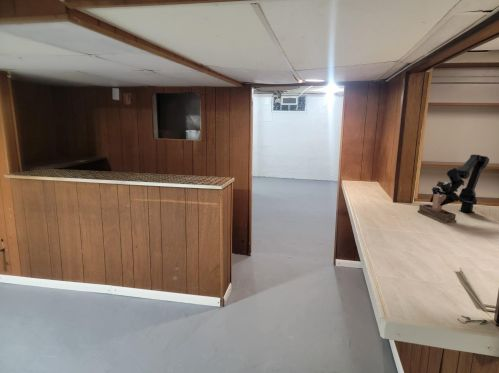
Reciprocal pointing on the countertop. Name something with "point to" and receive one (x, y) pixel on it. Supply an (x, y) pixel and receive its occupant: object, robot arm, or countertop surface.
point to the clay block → (437, 202)
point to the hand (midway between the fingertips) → (435, 203)
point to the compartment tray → (437, 214)
